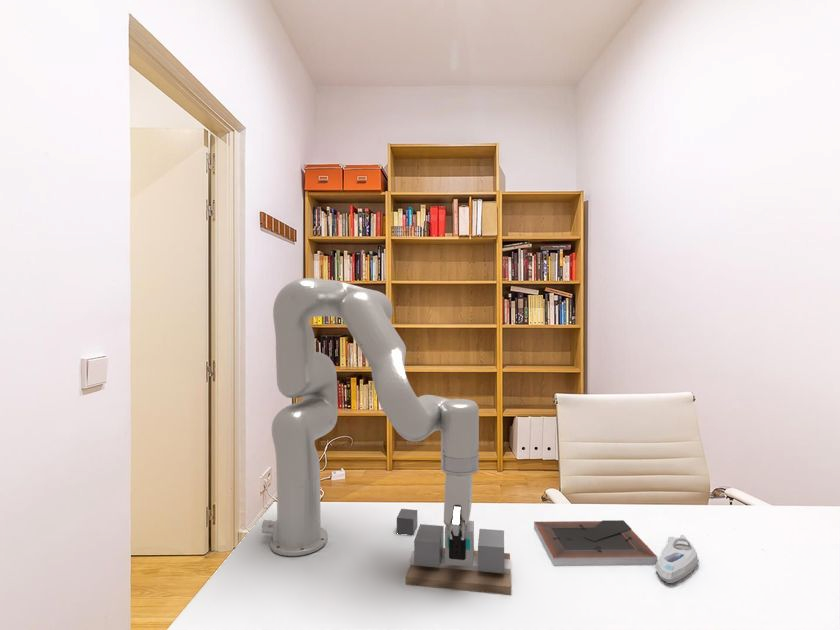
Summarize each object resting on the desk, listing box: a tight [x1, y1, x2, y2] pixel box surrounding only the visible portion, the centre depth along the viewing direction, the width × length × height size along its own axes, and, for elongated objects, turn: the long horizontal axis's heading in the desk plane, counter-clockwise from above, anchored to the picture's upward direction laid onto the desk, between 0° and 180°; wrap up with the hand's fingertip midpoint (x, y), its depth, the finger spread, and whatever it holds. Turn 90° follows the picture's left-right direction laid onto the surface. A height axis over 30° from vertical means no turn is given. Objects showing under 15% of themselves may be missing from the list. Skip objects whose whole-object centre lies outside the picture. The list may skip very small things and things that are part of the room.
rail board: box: [405, 547, 512, 596], centre depth 97 cm, size 20×12×2 cm, turn 80°
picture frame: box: [533, 519, 659, 567], centre depth 108 cm, size 16×2×22 cm
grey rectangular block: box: [396, 508, 418, 536], centre depth 115 cm, size 4×5×4 cm
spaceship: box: [654, 534, 699, 584], centre depth 101 cm, size 23×7×4 cm, turn 144°
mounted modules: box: [413, 523, 505, 573], centre depth 97 cm, size 18×7×5 cm, turn 80°
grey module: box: [444, 520, 475, 567], centre depth 97 cm, size 6×5×7 cm
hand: (459, 545), depth 97 cm, fingers open, 9 cm apart
